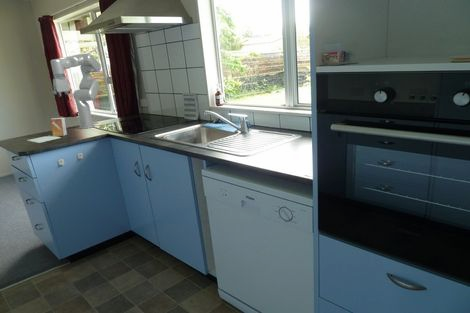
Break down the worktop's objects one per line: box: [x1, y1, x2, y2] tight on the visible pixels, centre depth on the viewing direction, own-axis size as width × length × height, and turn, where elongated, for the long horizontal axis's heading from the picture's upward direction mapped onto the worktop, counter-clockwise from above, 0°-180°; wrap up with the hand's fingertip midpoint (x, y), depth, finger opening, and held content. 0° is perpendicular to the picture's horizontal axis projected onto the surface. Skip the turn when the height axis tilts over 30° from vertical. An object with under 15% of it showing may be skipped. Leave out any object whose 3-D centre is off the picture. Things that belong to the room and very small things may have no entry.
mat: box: [26, 135, 62, 144], centre depth 247 cm, size 16×18×1 cm
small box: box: [50, 117, 68, 137], centre depth 254 cm, size 8×6×13 cm
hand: (64, 100), depth 256 cm, fingers open, 3 cm apart
